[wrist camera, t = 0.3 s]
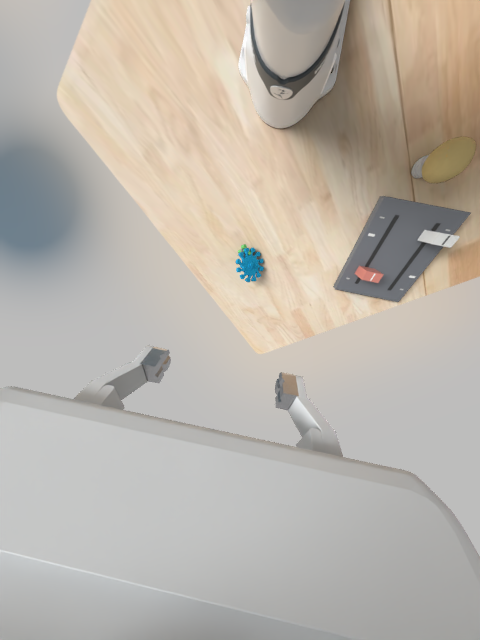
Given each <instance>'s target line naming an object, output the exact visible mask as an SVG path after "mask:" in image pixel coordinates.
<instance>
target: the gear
mask: <svg viewBox="0 0 480 640" xmlns="http://www.w3.org/2000/svg"><path fill="white" fill-rule="evenodd" d="M246 247H247V246H246V244H244V245H242V246H241V248H242V249H241V250H238V253H239V254H238V255H239V256H240V257H241V259H242V263H241V261H240V259H237V260H236V264H239V265H240V267H241V268H242V269H241V268H237V269H236V271H237V272H241V271H243V272H244V275H240V278H241V279H244V278H245V276H246V275H248V278H246V279H245V281H246V282H250V278H251V276H252V275H253V277H252V279H251V281H256V277H257V278H259V277H260V276H261V274H260V273H259V271H258V268H259V270H260V271H263V269H264V267H261V266H260V265H259V264H258V262H259V263H263V259H259V260H258V259H256V257H258V256H260V255H261V254H260V252H257V253H256V254H255V255H254V256H253V255H252V253H253V252H255V249H254V248H251V249H250V251H249V248H246ZM256 273H257V274H256ZM255 274H256V277H255Z"/></svg>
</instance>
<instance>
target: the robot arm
mask: <svg viewBox="0 0 480 640" xmlns="http://www.w3.org/2000/svg"><path fill="white" fill-rule="evenodd" d="M349 4H350V0H251V5H250V6H248V9H247V15H246V22H247V25H246V30H245V35H244V39H243V44H242V49H241V54H240V59H239V72H240V75H241V77H242V79H243V80H244V82H245V83H246V84H247V86H248V88H249V90H250V93H251V97H252V101H253V104H254V107H255V109H256V111H257V113H258V115H259V116H260V117H261V119H262V120H263V121H264V122H265V123H267V124H268V125H270V126H272V127H275V128H286V127H289V126H292V125H294V124H296V123H297V122H298V121H300V120H301V119H302V118H303V117H304V116H305V115H306V114H307V113H308V112H309V110H310V109H311V108H312V106H313V105H314V104H315V102H316V101H317V100H318V99H320V98H321V97H323V96H324V95H326V94H327V93H328V92H329V91H330V90H331V89H332V88H333V86H334V84H335V81H336V77H337V72H338V66H339V61H340V55H341V49H342V43H343V38H344V32H345V26H346V21H347V15H348V9H349ZM331 70H333V72H332V73H331ZM330 73H331V74H330ZM168 355H169V350H166V349H162V348H158V347H153V346H149V345H148V346H146V347H145V348H144V349H143V350H142V352H141V353H140V354H139V355H138V356H137V357H136V359H135V360H134V361H133V362H130V363H127V364H125V365H123V366H121V367H119V368H117V369H115V370H113V371H111V372H109V373H107V374H105V375H103V376H100V377H99V378H96V379H94V380H92V381H91V382H90V383H89V384H88V385H87V386H86V387H85V388H84V389H83V390H82V391H81V392H80V393H79V394H78V395H77V396H76V397H75V398H74V399H69V398H65V397H60V396H56V395H51V394H46V393H42V392H37V391H32V390H28V389H23V388H18V387H12V386H11V387H4V388H0V640H480V556H479V555H478V553H477V551H476V549H475V548H474V546H473V544H472V542H471V541H470V539H469V537H468V535H467V534H466V532H465V530H464V529H463V527H462V525H461V524H460V522H459V521H458V519H457V518H456V516H455V515H454V514H453V512H452V511H451V510H450V509H449V508H448V507H447V506H446V504H444V502H442V500H441V499H440V498H439V497H438V496H437V495H436V494H435V493H434V492H433V491H432V490H430V488H429V487H428V486H427V485H426V484H425V483H424V482H423V481H421V480H420V479H419V478H418V477H417V476H416V475H414V474H413V473H411V472H408V471H405V470H401V469H396V468H391V467H386V466H382V465H377V464H373V463H368V462H363V461H359V460H354V459H349V458H345V457H343V455H342V452H341V448H340V445H339V442H338V438H337V435H336V432H335V431H334V429H333V428H332V427H331V426H330V424H329V423H328V422H327V421H326V419H325V418H324V417H323V416H322V414H321V413H320V412H319V410H318V409H317V408H316V407H315V405H314V404H313V403H312V402H311V400H310V399H308V398H307V394H306V390H305V385H304V380H303V377H301V376H297V375H293V374H287V373H282V372H281V373H280V374H279V379H277V381H276V385H275V393H276V394H277V396H276V408H280V409H284V410H288V412H289V414H290V416H291V418H292V419H293V421H294V423H295V425H296V427H297V429H298V430H299V432H300V434H301V436H302V439H301V440H300V441H299V442H298V443H297V444H296V447H293V446H289V445H284V444H279V443H275V442H270V441H265V440H260V439H256V438H251V437H247V436H242V435H238V434H233V433H228V432H224V431H219V430H214V429H210V428H205V427H200V426H195V425H191V424H186V423H181V422H177V421H172V420H168V419H163V418H158V417H153V416H149V415H144V414H140V413H135V412H130V411H125V410H123V409H124V405H123V403H122V401H121V400H122V399H124V398H125V397H126V396H128V395H129V394H131V393H132V392H134V391H135V390H136V389H138V388H139V387H141V386H142V385H143V384H145V383H146V382H147V381H149V382H155V383H159V382H160V381H161V379H162V377H163V376H164V373H163V372H165V371H166V370H167V369H168V367H169V365H170V361H171V359H170V357H169V356H168Z"/></svg>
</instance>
